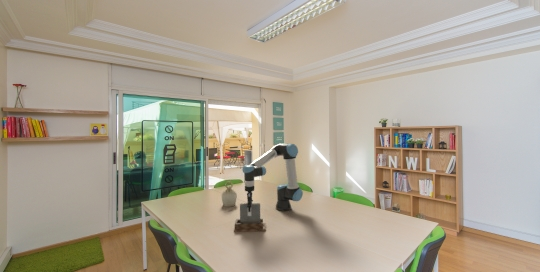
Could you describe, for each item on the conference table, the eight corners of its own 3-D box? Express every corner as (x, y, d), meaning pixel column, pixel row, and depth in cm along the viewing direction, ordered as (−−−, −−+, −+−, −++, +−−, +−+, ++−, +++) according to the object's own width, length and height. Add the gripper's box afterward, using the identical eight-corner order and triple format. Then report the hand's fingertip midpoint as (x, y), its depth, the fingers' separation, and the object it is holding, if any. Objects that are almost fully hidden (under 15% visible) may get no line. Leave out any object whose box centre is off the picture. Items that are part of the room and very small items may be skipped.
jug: (233, 207, 233) (233, 182, 232) (219, 207, 236) (218, 182, 235) (238, 203, 248) (238, 179, 247) (225, 202, 251) (224, 179, 250)
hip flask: (260, 225, 184) (260, 199, 184) (260, 227, 180) (260, 201, 180) (240, 225, 184) (239, 200, 184) (239, 227, 180) (239, 201, 180)
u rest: (265, 224, 189) (265, 218, 189) (265, 231, 177) (265, 223, 177) (235, 225, 188) (235, 218, 188) (233, 231, 176) (233, 224, 176)
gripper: (245, 182, 194) (246, 207, 195) (243, 189, 169) (243, 218, 170) (254, 182, 194) (255, 207, 195) (253, 189, 169) (254, 218, 170)
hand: (250, 212), depth 182 cm, fingers open, 13 cm apart
